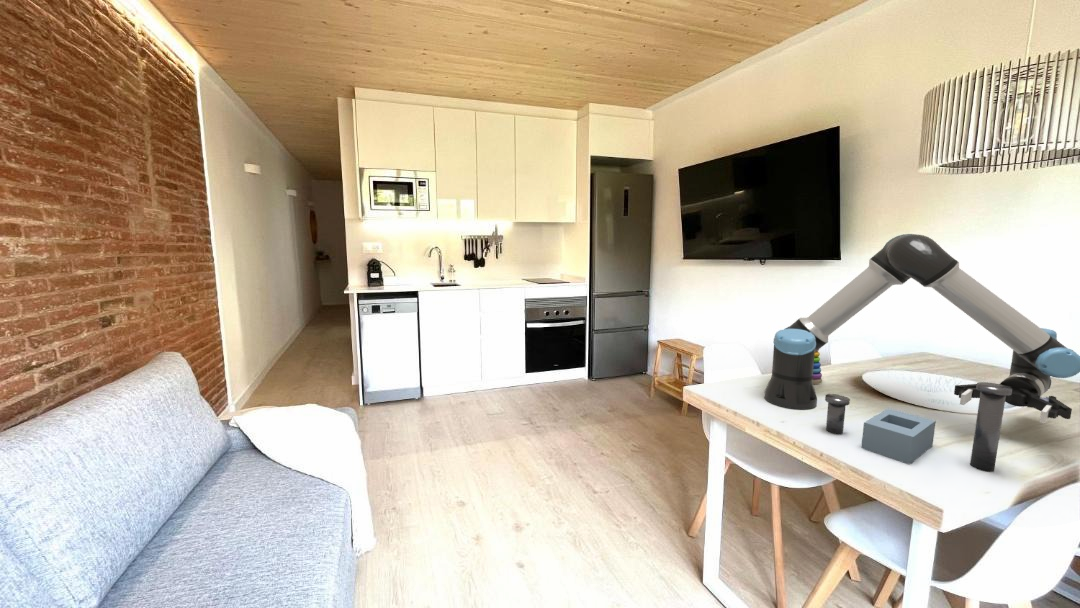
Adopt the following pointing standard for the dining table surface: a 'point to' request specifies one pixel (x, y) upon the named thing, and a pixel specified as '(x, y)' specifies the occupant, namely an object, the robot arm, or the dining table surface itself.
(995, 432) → the tall pin
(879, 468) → the dining table surface
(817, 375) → the stacking toy
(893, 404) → the dining table surface
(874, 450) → the guide block
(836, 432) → the short pin
